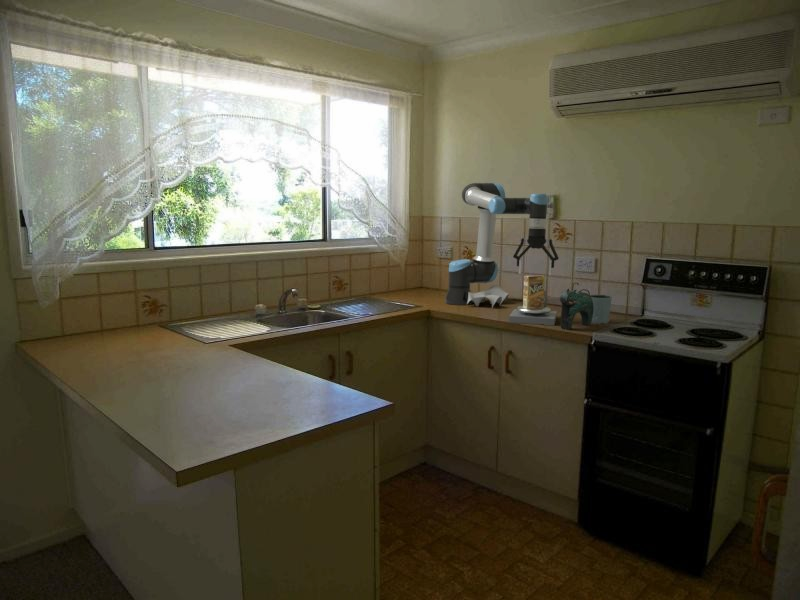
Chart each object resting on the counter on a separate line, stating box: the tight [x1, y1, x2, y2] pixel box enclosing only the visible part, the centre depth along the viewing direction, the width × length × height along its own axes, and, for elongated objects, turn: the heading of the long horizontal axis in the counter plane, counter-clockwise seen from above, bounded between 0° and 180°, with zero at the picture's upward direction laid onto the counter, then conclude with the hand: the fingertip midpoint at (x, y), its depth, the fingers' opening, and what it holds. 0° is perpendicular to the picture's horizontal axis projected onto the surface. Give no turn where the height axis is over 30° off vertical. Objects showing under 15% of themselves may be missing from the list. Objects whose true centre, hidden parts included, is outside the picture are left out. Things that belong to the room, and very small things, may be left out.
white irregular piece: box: [467, 284, 510, 309], centre depth 313 cm, size 25×19×10 cm
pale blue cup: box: [590, 294, 613, 324], centre depth 267 cm, size 10×10×12 cm
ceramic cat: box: [559, 282, 594, 331], centre depth 254 cm, size 20×6×20 cm, turn 126°
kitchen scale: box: [508, 289, 558, 326], centre depth 270 cm, size 20×20×13 cm
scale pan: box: [516, 305, 552, 314], centre depth 270 cm, size 15×15×2 cm
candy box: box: [522, 274, 546, 309], centre depth 269 cm, size 9×4×15 cm, turn 108°
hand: (534, 274), depth 268 cm, fingers open, 13 cm apart
